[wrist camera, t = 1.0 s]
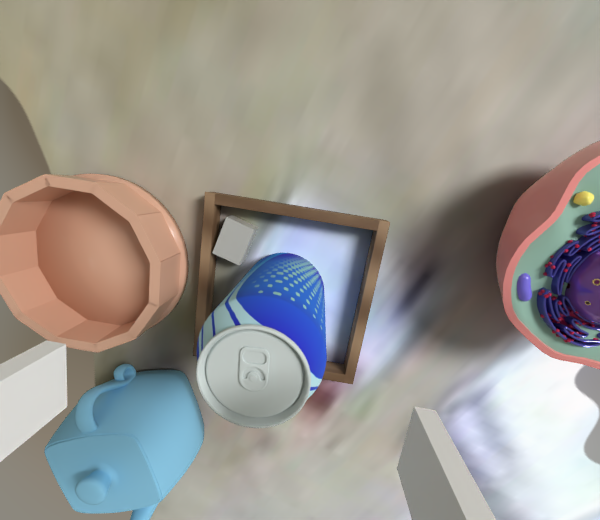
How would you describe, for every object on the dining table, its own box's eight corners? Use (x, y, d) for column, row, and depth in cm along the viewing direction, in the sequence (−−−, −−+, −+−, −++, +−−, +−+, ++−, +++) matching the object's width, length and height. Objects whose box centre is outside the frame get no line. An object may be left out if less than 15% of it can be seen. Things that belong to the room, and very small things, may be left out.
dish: (26, 161, 30) (-29, 156, 26) (193, 188, 30) (169, 188, 25) (37, 317, 35) (-8, 337, 30) (183, 343, 34) (161, 368, 29)
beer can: (340, 288, 31) (359, 384, 16) (286, 336, 33) (256, 465, 18) (284, 233, 30) (247, 279, 15) (232, 286, 32) (150, 376, 17)
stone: (233, 215, 30) (226, 216, 28) (259, 227, 31) (254, 229, 28) (220, 248, 31) (212, 253, 29) (245, 260, 32) (239, 265, 29)
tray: (212, 191, 30) (205, 192, 28) (385, 220, 29) (390, 222, 27) (200, 346, 34) (192, 355, 32) (350, 373, 34) (352, 384, 32)
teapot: (142, 473, 39) (72, 583, 28) (92, 357, 36) (-11, 433, 25) (227, 462, 38) (189, 574, 27) (185, 340, 34) (120, 412, 23)
